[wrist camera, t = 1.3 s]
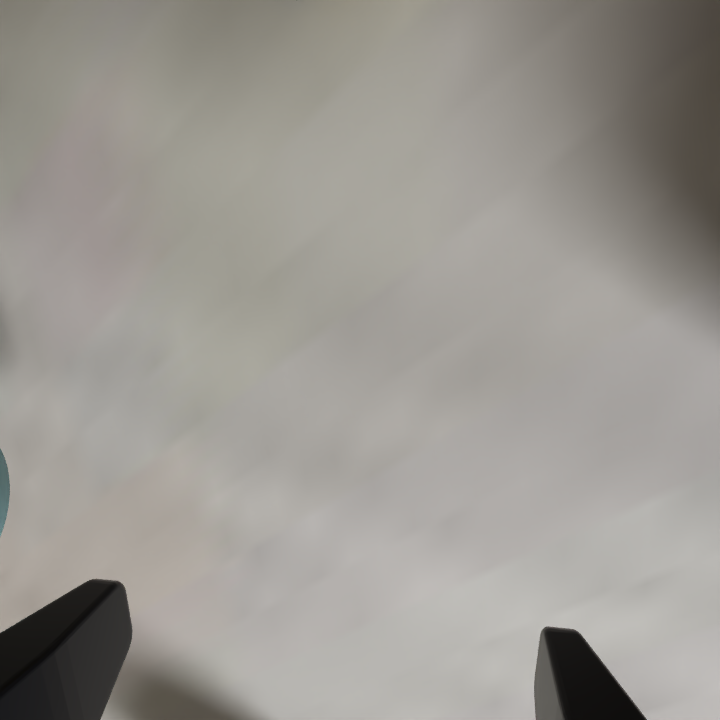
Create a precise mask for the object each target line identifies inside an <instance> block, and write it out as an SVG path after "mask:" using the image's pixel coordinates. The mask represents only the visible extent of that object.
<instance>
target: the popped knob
mask: <svg viewBox="0 0 720 720" xmlns="http://www.w3.org/2000/svg"><path fill="white" fill-rule="evenodd" d="M9 495H10V484H9V474H8V468H7V464H6V461H5V458H4V455H3V453H2V451H1V449H0V536H1V533H2V530H3V527H4V524H5V520H6V516H7V511H8V505H9Z"/></svg>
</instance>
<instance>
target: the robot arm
mask: <svg viewBox="0 0 720 720" xmlns="http://www.w3.org/2000/svg"><path fill="white" fill-rule="evenodd" d="M131 639H132V624H131V618H130V612H129V606H128V601H127V595H126V590H125V587H124V585H123V584H122V583H121V582H118V581H112V580H103V579H92V580H89V581H87V582H85V583H83V584H82V585H80V586H78V587H77V588H75V589H73V590H72V591H70V592H68V593H67V594H65V595H63V596H62V597H60V598H58V599H57V600H55V601H53V602H52V603H50V604H48V605H47V606H45V607H43V608H42V609H40V610H38V611H37V612H35V613H33V614H32V615H30V616H28V617H27V618H25V619H23V620H21V621H20V622H18V623H16V624H15V625H13V626H11V627H10V628H8V629H6V630H5V631H3V632H1V633H0V720H100V719H101V716H102V714H103V712H104V709H105V707H106V704H107V702H108V699H109V697H110V694H111V692H112V689H113V687H114V685H115V682H116V680H117V677H118V675H119V672H120V670H121V667H122V665H123V662H124V660H125V658H126V655H127V653H128V650H129V647H130V644H131ZM534 697H535V713H536V720H647V719H646V718H645V716H644V715H643V714H642V713H641V711H640V710H639V709H638V707H637V706H636V705H635V704H634V702H633V701H632V700H631V698H630V697H629V696H628V695H627V693H626V692H625V691H624V689H623V688H622V687H621V685H620V684H619V683H618V682H617V680H616V679H615V678H614V676H613V675H612V674H611V673H610V671H609V670H608V669H607V667H606V666H605V665H604V664H603V662H602V661H601V660H600V658H599V657H598V656H597V655H596V653H595V652H594V651H593V649H592V648H591V647H590V645H589V644H588V643H587V642H586V640H585V639H584V638H583V636H582V635H581V634H580V633H579V632H577V631H576V630H573V629H566V628H556V627H545V628H544V629H543V630H542V631H541V635H540V641H539V649H538V657H537V664H536V672H535V682H534Z"/></svg>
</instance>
